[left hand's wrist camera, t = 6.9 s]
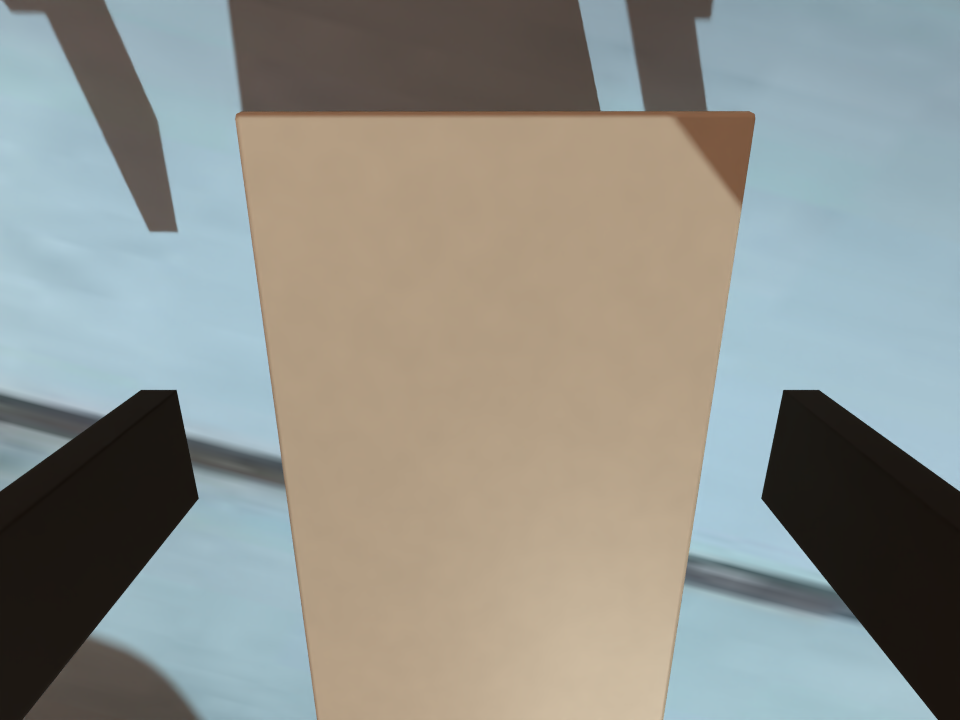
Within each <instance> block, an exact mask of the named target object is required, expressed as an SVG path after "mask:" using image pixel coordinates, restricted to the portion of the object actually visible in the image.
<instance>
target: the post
mask: <svg viewBox="0 0 960 720" xmlns="http://www.w3.org/2000/svg"><path fill="white" fill-rule="evenodd" d="M235 120H236V127H237V135H238V142H239V149H240V157H241V164H242V171H243V179H244V186H245V193H246V201H247V208H248V216H249V223H250V230H251V238H252V245H253V252H254V260H255V267H256V274H257V282H258V289H259V296H260V304H261V311H262V318H263V326H264V333H265V340H266V348H267V355H268V362H269V370H270V377H271V384H272V392H273V399H274V406H275V414H276V421H277V428H278V436H279V443H280V450H281V458H282V465H283V472H284V480H285V487H286V495H287V502H288V509H289V517H290V524H291V531H292V539H293V546H294V553H295V561H296V568H297V575H298V583H299V590H300V597H301V605H302V612H303V619H304V627H305V634H306V641H307V649H308V656H309V663H310V671H311V678H312V685H313V693H314V700H315V707H316V715H317V720H663V717H664V711H665V704H666V698H667V691H668V685H669V678H670V672H671V665H672V659H673V652H674V646H675V639H676V633H677V626H678V620H679V613H680V607H681V600H682V593H683V587H684V580H685V574H686V567H687V561H688V554H689V548H690V541H691V535H692V528H693V522H694V515H695V509H696V502H697V496H698V489H699V483H700V476H701V470H702V463H703V456H704V450H705V443H706V437H707V430H708V424H709V417H710V411H711V404H712V398H713V391H714V385H715V378H716V372H717V365H718V359H719V352H720V346H721V339H722V333H723V326H724V320H725V313H726V306H727V300H728V293H729V287H730V280H731V274H732V267H733V261H734V254H735V248H736V241H737V235H738V228H739V222H740V215H741V209H742V202H743V196H744V189H745V183H746V176H747V170H748V163H749V156H750V150H751V143H752V137H753V130H754V124H755V114H754V113H752V112H750V111H323V112H240V113H237V114H236V119H235Z"/></svg>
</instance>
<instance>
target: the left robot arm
mask: <svg viewBox="0 0 960 720" xmlns="http://www.w3.org/2000/svg"><path fill="white" fill-rule="evenodd" d="M198 499H199V498H198V493H197V488H196V483H195V478H194V473H193V468H192V463H191V459H190V454H189V449H188V444H187V439H186V434H185V429H184V424H183V419H182V414H181V410H180V405H179V400H178V395H177V390H140V391H139V392H138V393H136V394H135V395H134V396H132V397H131V398H129V399H128V400H127V401H125V402H124V403H122V404H121V405H120V406H118V407H117V408H115V409H114V410H113V411H111V412H110V413H109V414H107V415H106V416H104V417H103V418H102V419H100V420H99V421H97V422H96V423H95V424H93V425H92V426H91V427H89V428H88V429H86V430H85V431H84V432H82V433H81V434H79V435H78V436H77V437H75V438H74V439H72V440H71V441H70V442H68V443H67V444H66V445H64V446H63V447H61V448H60V449H59V450H57V451H56V452H54V453H53V454H52V455H50V456H49V457H47V458H46V459H45V460H43V461H42V462H41V463H39V464H38V465H36V466H35V467H34V468H32V469H31V470H29V471H28V472H27V473H25V474H24V475H22V476H21V477H20V478H18V479H17V480H16V481H14V482H13V483H11V484H10V485H9V486H7V487H6V488H4V489H3V490H2V491H0V720H22V719H23V718H24V717H25V716H26V714H27V713H28V712H29V711H30V709H31V708H32V707H33V705H34V704H35V703H36V702H37V700H38V699H39V698H40V697H41V695H42V694H43V693H44V692H45V690H46V689H47V688H48V687H49V685H50V684H51V683H52V682H53V680H54V679H55V678H56V677H57V675H58V674H59V673H60V672H61V670H62V669H63V668H64V667H65V665H66V664H67V663H68V662H69V660H70V659H71V658H72V657H73V655H74V654H75V653H76V652H77V650H78V649H79V648H80V647H81V645H82V644H83V643H84V642H85V640H86V639H87V638H88V637H89V635H90V634H91V633H92V632H93V630H94V629H95V628H96V627H97V625H98V624H99V623H100V622H101V620H102V619H103V618H104V617H105V615H106V614H107V613H108V612H109V610H110V609H111V608H112V606H113V605H114V604H115V603H116V601H117V600H118V599H119V598H120V596H121V595H122V594H123V593H124V591H125V590H126V589H127V588H128V586H129V585H130V584H131V583H132V581H133V580H134V579H135V578H136V576H137V575H138V574H139V573H140V571H141V570H142V569H143V568H144V566H145V565H146V564H147V563H148V561H149V560H150V559H151V558H152V556H153V555H154V554H155V553H156V551H157V550H158V549H159V548H160V546H161V545H162V544H163V543H164V541H165V540H166V539H167V538H168V536H169V535H170V534H171V533H172V531H173V530H174V529H175V528H176V526H177V525H178V524H179V523H180V521H181V520H182V519H183V518H184V516H185V515H186V514H187V512H188V511H189V510H190V509H191V507H192V506H193V505H194V504H195V502H196V501H197V500H198ZM761 499H762V500H763V501H764V502H765V504H766V505H767V506H768V507H769V509H770V510H771V511H772V512H773V514H774V515H775V516H776V518H777V519H778V520H779V521H780V523H781V524H782V525H783V526H784V528H785V529H786V530H787V531H788V533H789V534H790V535H791V536H792V538H793V539H794V540H795V541H796V543H797V544H798V545H799V546H800V548H801V549H802V550H803V551H804V553H805V554H806V555H807V556H808V558H809V559H810V560H811V561H812V563H813V564H814V565H815V566H816V568H817V569H818V570H819V571H820V573H821V574H822V575H823V576H824V578H825V579H826V580H827V581H828V583H829V584H830V585H831V586H832V588H833V589H834V590H835V591H836V593H837V594H838V595H839V596H840V598H841V599H842V600H843V601H844V603H845V604H846V605H847V606H848V608H849V609H850V610H851V612H852V613H853V614H854V615H855V617H856V618H857V619H858V620H859V622H860V623H861V624H862V625H863V627H864V628H865V629H866V630H867V632H868V633H869V634H870V635H871V637H872V638H873V639H874V640H875V642H876V643H877V644H878V645H879V647H880V648H881V649H882V650H883V652H884V653H885V654H886V655H887V657H888V658H889V659H890V660H891V662H892V663H893V664H894V665H895V667H896V668H897V669H898V670H899V672H900V673H901V674H902V675H903V677H904V678H905V679H906V680H907V682H908V683H909V684H910V685H911V687H912V688H913V689H914V690H915V692H916V693H917V694H918V695H919V697H920V698H921V699H922V700H923V702H924V703H925V704H926V706H927V707H928V708H929V709H930V711H931V712H932V713H933V714H934V716H935V717H936V718H937V719H938V720H960V491H958V490H957V489H956V488H954V487H953V486H951V485H950V484H949V483H947V482H946V481H944V480H943V479H942V478H940V477H939V476H938V475H936V474H935V473H933V472H932V471H931V470H929V469H928V468H926V467H925V466H924V465H922V464H921V463H919V462H918V461H917V460H915V459H914V458H913V457H911V456H910V455H908V454H907V453H906V452H904V451H903V450H901V449H900V448H899V447H897V446H896V445H894V444H893V443H892V442H890V441H889V440H888V439H886V438H885V437H883V436H882V435H881V434H879V433H878V432H876V431H875V430H874V429H872V428H871V427H869V426H868V425H867V424H865V423H864V422H863V421H861V420H860V419H858V418H857V417H856V416H854V415H853V414H851V413H850V412H849V411H847V410H846V409H845V408H843V407H842V406H840V405H839V404H838V403H836V402H835V401H833V400H832V399H831V398H829V397H828V396H826V395H825V394H824V393H822V392H821V391H820V390H783V395H782V400H781V405H780V409H779V414H778V419H777V424H776V429H775V434H774V439H773V444H772V449H771V454H770V459H769V463H768V468H767V473H766V478H765V483H764V488H763V493H762V498H761Z"/></svg>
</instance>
